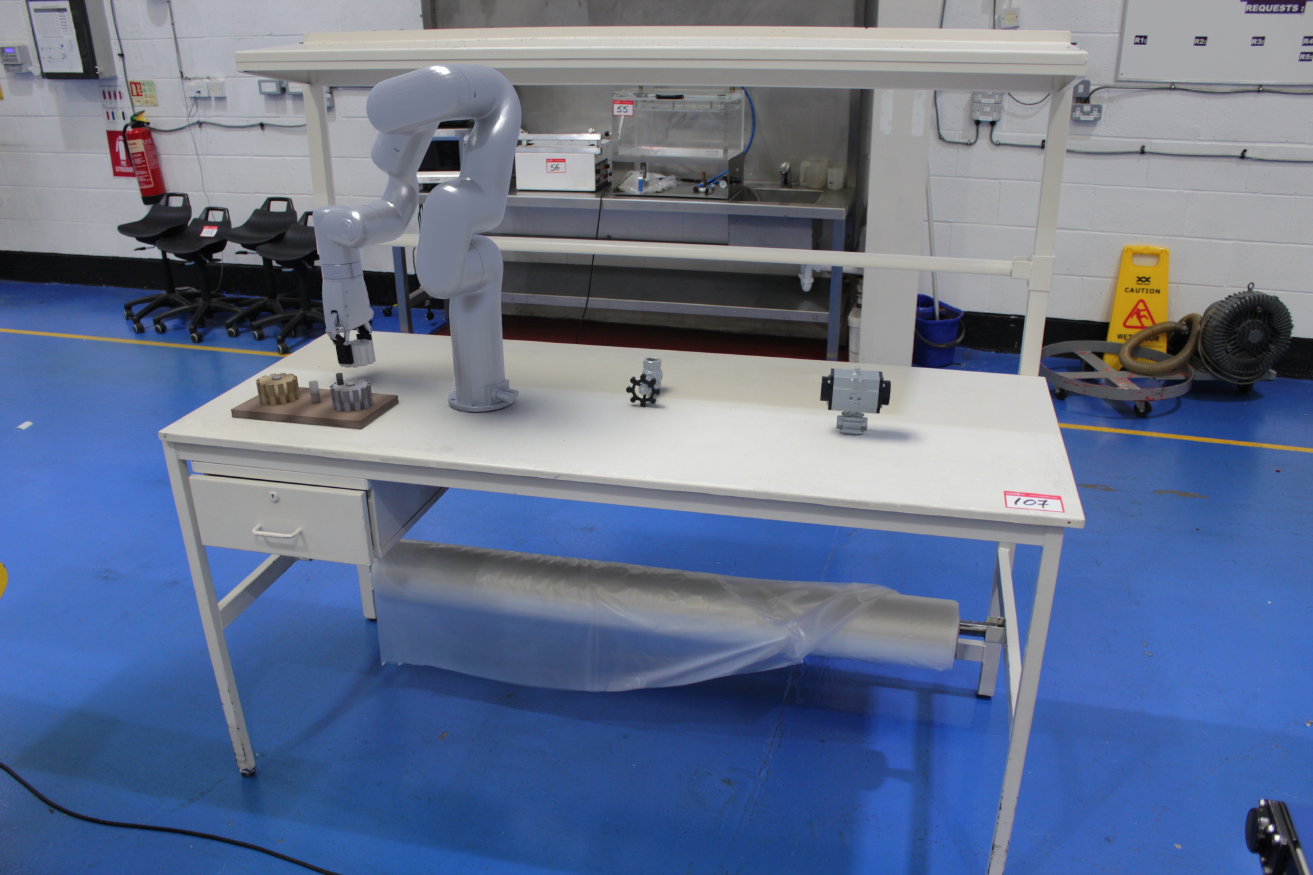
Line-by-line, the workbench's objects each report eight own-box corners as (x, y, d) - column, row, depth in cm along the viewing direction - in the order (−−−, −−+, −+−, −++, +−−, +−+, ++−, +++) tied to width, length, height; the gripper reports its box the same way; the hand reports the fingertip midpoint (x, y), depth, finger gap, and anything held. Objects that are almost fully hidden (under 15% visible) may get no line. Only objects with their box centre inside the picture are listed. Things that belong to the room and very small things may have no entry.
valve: (638, 386, 178) (625, 406, 168) (638, 355, 176) (625, 373, 165) (670, 388, 177) (659, 408, 166) (670, 357, 175) (660, 375, 164)
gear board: (398, 402, 168) (394, 365, 166) (361, 429, 156) (355, 389, 153) (278, 392, 174) (272, 356, 171) (232, 417, 161) (224, 378, 158)
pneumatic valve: (817, 424, 159) (823, 361, 154) (884, 429, 157) (891, 365, 152) (817, 436, 154) (822, 371, 149) (885, 441, 152) (893, 375, 147)
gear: (383, 360, 179) (380, 341, 178) (354, 369, 174) (351, 350, 172) (360, 356, 183) (357, 337, 181) (332, 364, 178) (328, 345, 176)
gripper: (348, 262, 180) (362, 346, 187) (299, 279, 164) (316, 370, 171) (381, 262, 179) (394, 347, 185) (335, 280, 163) (350, 371, 169)
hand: (356, 357), depth 178 cm, fingers closed on gear, 7 cm apart
